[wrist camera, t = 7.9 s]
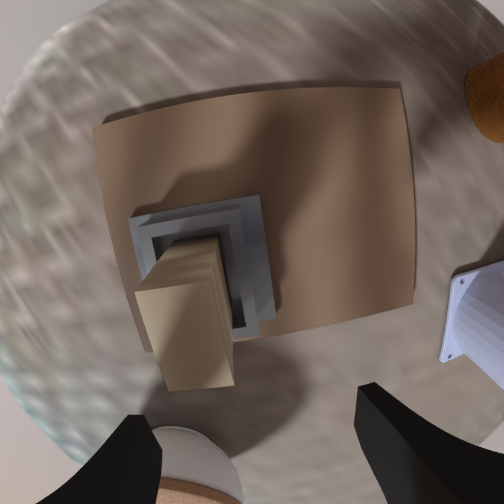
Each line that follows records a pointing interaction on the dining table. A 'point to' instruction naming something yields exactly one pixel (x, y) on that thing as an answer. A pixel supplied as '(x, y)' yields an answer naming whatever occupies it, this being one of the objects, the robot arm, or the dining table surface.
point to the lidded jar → (195, 469)
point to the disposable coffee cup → (487, 97)
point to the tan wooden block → (190, 314)
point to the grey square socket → (233, 248)
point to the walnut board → (279, 192)
